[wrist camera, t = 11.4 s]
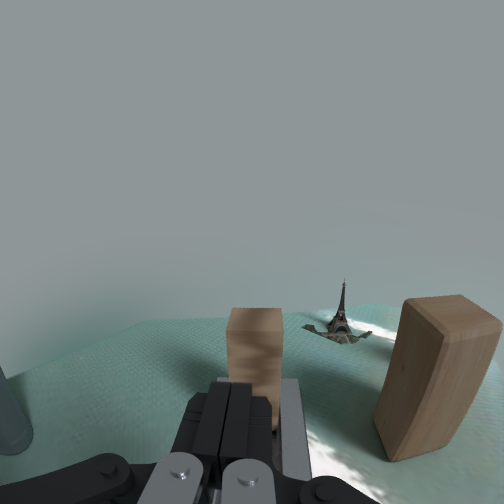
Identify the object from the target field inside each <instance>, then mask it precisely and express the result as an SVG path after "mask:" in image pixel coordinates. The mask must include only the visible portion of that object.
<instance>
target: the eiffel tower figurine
mask: <svg viewBox="0 0 504 504" xmlns="http://www.w3.org/2000/svg"><path fill="white" fill-rule="evenodd" d="M344 294H345V282H344V283H343V289H342V295H341V301H340V305H339V309H338V311H337V313H336V315H335V316H334V318H333V319H332V320H331V321H330V322H329V324H327V325H326V326H327V329H328V331H329V332H325V333H321V332H317V331H316V330H315V327H314V325H308V324H307V325H305V326H303V327H302V328H305V329H307V330H309V331H311V332H314V333H316V334H319V335H321V336H324V337H326V338H328V339H331V340H333V341H335V342H338V343H340V344H353V343H356V342H357V341H359V339H360V338H361V337H362V338H365V339H366V338H367V337H368V336H369V335H370V334H371V333H372V331H368V332H367V333H364V334H361V335H360V336H359V337H356V336H353V335H351V334H352V332H351V330H350V329H349V327H348V324H347V319H346V318H345V310H344ZM341 314H342V316H340V315H341ZM333 323H334V325H332V324H333Z"/></svg>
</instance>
